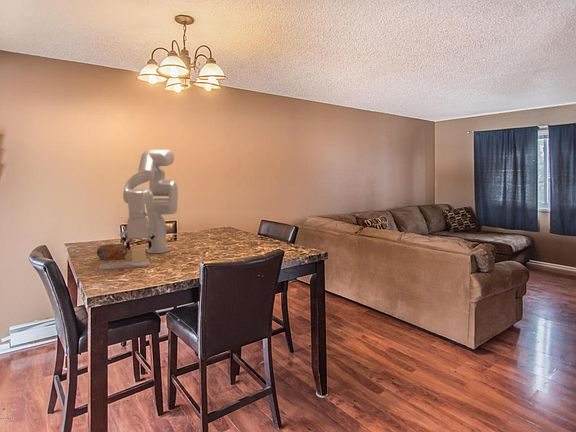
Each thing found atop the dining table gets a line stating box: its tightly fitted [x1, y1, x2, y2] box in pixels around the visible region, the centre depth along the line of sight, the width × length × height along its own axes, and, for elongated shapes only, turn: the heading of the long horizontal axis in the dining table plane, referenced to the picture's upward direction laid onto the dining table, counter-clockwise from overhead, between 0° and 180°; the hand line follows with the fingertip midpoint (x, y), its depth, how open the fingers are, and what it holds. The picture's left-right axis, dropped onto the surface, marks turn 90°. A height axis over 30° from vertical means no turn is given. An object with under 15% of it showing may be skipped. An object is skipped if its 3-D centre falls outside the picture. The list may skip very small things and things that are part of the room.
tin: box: [96, 243, 128, 261], centre depth 197 cm, size 15×3×8 cm, turn 101°
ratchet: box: [98, 258, 150, 271], centre depth 181 cm, size 9×22×6 cm, turn 108°
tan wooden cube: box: [131, 247, 147, 263], centre depth 182 cm, size 6×6×6 cm
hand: (139, 249), depth 183 cm, fingers open, 9 cm apart
